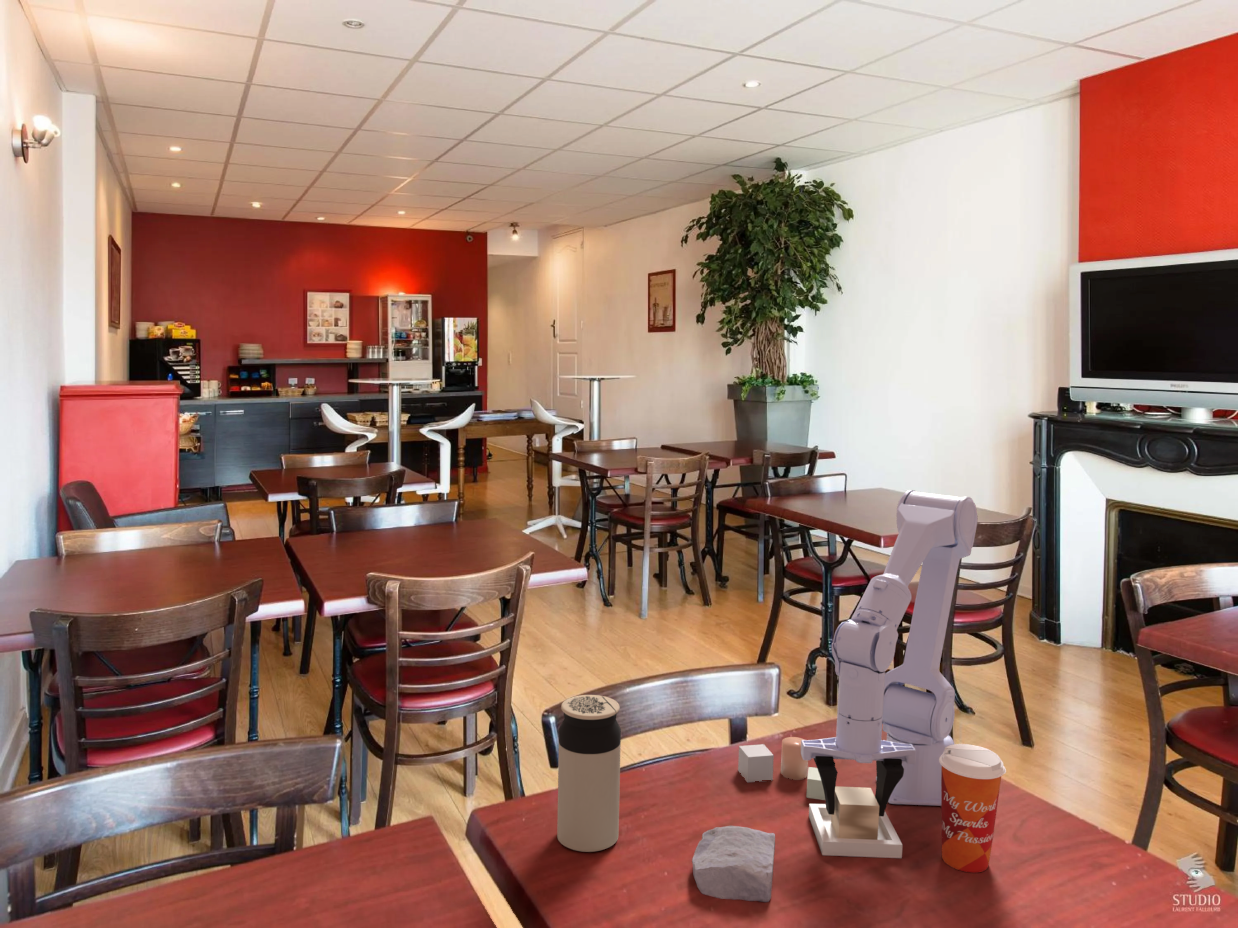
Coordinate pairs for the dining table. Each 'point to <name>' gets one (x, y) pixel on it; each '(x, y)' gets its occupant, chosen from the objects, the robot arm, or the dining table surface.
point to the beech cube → (855, 813)
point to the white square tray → (831, 845)
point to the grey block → (755, 763)
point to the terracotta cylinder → (793, 759)
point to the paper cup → (969, 805)
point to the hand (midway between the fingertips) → (854, 811)
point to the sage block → (814, 785)
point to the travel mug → (589, 773)
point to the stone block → (735, 863)
